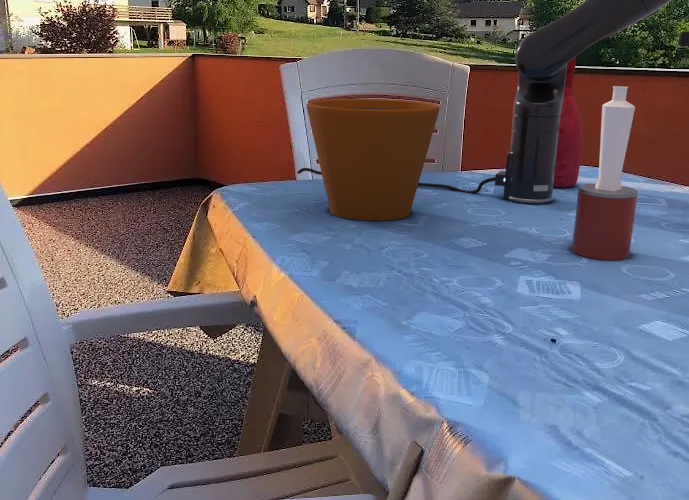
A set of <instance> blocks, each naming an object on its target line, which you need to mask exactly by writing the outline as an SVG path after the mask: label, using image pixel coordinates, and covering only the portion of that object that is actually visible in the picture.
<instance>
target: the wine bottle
mask: <svg viewBox="0 0 689 500" xmlns="http://www.w3.org/2000/svg"><path fill="white" fill-rule="evenodd" d="M576 61H577V56H576V57H575V58H573V59H572V60H571V61H569V62H568V63H567V70H566V79H565V87H564V96H563V102H562V107H561V114H560V124H559V134H558V144H557V153H556V163H555V173H554V182H553V188H560V189H562V188H565V189H566V188H571V187H574V186H576V185H577V183H578V179H579V175H580V174H579V173H580V166H581V158H582V152H583V151H582V150H583V142H584V141H583V140H584V130H583V125H582V119H581V116H580V112H579V110H578V106H577V103H576V100H575V96H574V88H573V83H574V82H573V81H574V72H575V70H576V63H577V62H576Z"/></svg>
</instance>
